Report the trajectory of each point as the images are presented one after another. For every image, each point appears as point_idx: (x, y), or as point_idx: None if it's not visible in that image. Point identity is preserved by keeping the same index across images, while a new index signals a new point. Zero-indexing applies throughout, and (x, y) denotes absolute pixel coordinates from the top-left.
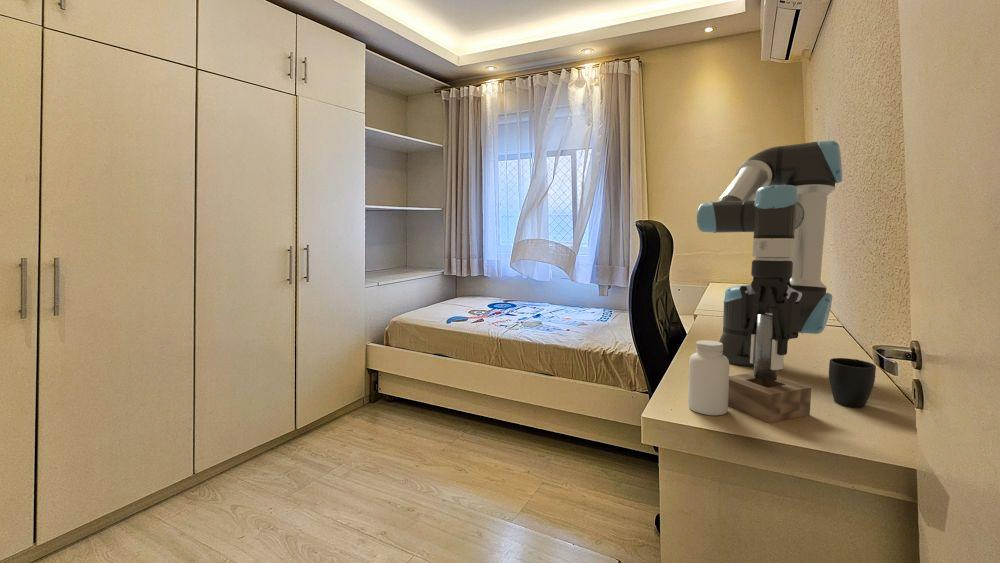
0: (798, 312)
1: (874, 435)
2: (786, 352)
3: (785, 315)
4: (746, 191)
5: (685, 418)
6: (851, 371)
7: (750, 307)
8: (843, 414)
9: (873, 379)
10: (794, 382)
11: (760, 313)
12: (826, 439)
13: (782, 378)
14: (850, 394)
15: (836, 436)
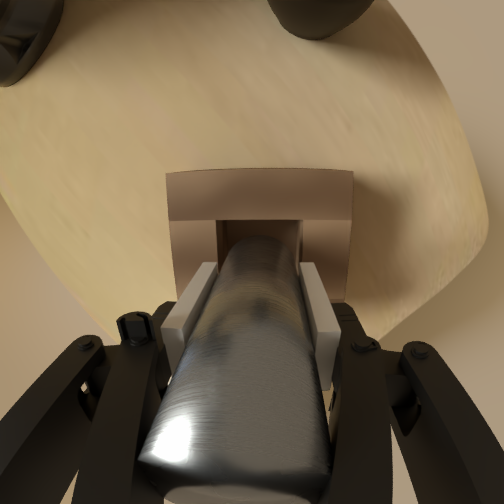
0: (499, 477)
1: (440, 160)
2: (351, 311)
3: (387, 479)
4: None
5: None
6: (361, 4)
7: (43, 464)
8: (356, 92)
9: None
10: (298, 172)
11: (168, 492)
12: (414, 263)
13: (250, 169)
14: (339, 29)
15: (417, 232)
